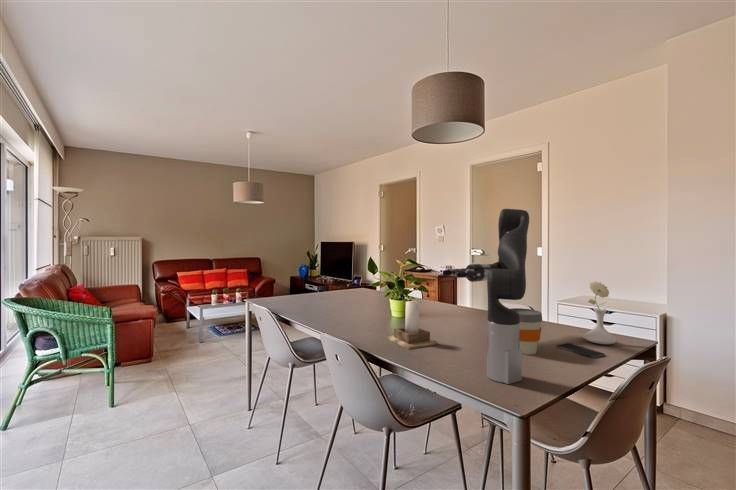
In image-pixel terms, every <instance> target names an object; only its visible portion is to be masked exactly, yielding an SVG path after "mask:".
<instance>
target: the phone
mask: <svg viewBox="0 0 736 490" xmlns="http://www.w3.org/2000/svg"><path fill="white" fill-rule="evenodd" d="M556 348H557V349H561V350H564V351H567V352H570V353H573V354H576V355H579V356H583V357H584V358H585V357H586V358H587V359H599V358H602V357H603V358H604V357H606V353H604V352H600V351H597V350H594V349H590V348H587V347H583V346H581V345H578V344H574V343H572V342H571V343H570V342H565V343H559V344H556Z"/></svg>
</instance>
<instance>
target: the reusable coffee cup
mask: <svg viewBox="0 0 736 490" xmlns="http://www.w3.org/2000/svg"><path fill="white" fill-rule="evenodd" d="M510 309H511V310H514V311H516V312H517V313H519V315H520V336H519V348H520V349H522V355H524V356H525V355H526V356H527V355H529V356H531V355H536V353H537V351H538V343H539V341H540V338H541V333H542V327H541V324H542V322H543V314H542V313H543V312H541V311H539V310H537V309H531V308H523V307H522V308H520V307H518V308H517V307H515V308H513V307H512V308H510Z"/></svg>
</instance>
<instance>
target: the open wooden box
mask: <svg viewBox="0 0 736 490" xmlns="http://www.w3.org/2000/svg"><path fill="white" fill-rule="evenodd" d="M393 333H394V334H392V335H387V337H386V339H387V340H389V341H391V342H393V343H395V344H397V345H399V346H401V347H403V348H406V349H408V350H412V349H416V348H417V349H418V348H423V347H430V346H435V345H438V344H439V341H436V340H435V339H432V338H431V332H430V331H429V330H426V329H423V328H421V327H419V333H414V334H408V333H405V327H399V328H394V330H393Z"/></svg>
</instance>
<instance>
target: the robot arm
mask: <svg viewBox="0 0 736 490" xmlns="http://www.w3.org/2000/svg"><path fill="white" fill-rule="evenodd" d="M497 224H498V225H497V226H498V242H499V243H498V247H497V256H498V260H497V261H495V262H493V263H491V264H490V263H488V264H486V263H471V264H468V265H466V267H464V268H463V267H461V268H448V269H445V270H444V269H443V271H442V276H450V277H451V276H452V277H454V278H458V279H459V278H465V279H467V280H468V282H471V283H475V282H487V283H486V287H487V288H486V289H487V290H486V291H487V331H486V333H487V334H486V335H487V336H486V341H487V342H486V377H487V378H488V379H490V380H492V381H495V382H497V383H498V382H499V383H504V384H506V385H509V384H513V383H517V382H521V381H522V380H523V378H522V377H523V373H522V372H523V354H522V349H520V348H519V336H520V315H519V313H517V312H516V311H514V310H511V309H512V308H509V307H507V306H505V305H504V304H502V303H501V302H500V300H507V301H519V300H522V299H523V298H524V297H525V294H526V291H527V290H526V289H527V277H526V261H527V250H528V241H527V240H528V231H529V225H530V214H529V211H527V210H524V209H519V208H518V209H515V208H503V209H501V211H500V213H499V216H498V223H497Z"/></svg>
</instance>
